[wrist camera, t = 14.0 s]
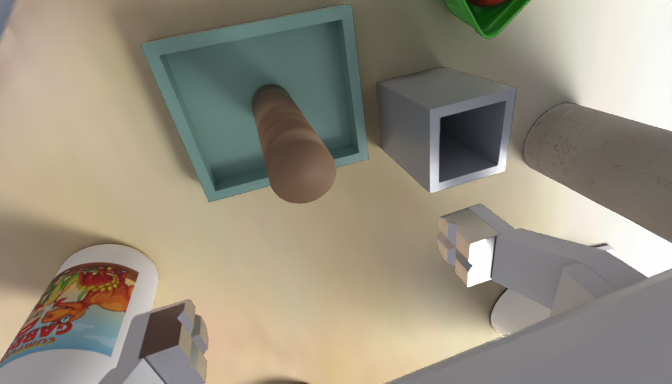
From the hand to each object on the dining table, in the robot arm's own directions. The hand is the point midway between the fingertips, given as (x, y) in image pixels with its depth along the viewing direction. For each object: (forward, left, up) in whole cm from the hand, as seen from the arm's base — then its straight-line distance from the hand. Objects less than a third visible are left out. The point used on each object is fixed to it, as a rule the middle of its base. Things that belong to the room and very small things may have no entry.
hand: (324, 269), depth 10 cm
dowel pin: (-1, 0, -19) cm, 19 cm away
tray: (0, 0, -20) cm, 20 cm away
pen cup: (-13, +3, -20) cm, 24 cm away
